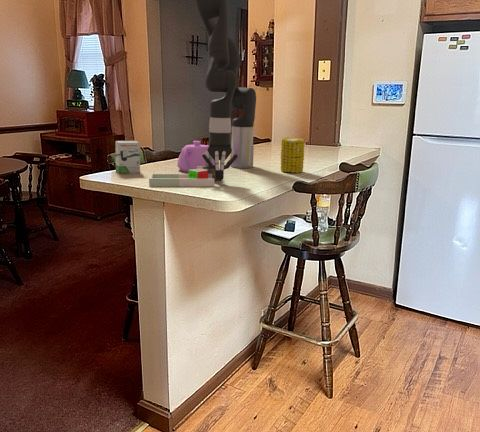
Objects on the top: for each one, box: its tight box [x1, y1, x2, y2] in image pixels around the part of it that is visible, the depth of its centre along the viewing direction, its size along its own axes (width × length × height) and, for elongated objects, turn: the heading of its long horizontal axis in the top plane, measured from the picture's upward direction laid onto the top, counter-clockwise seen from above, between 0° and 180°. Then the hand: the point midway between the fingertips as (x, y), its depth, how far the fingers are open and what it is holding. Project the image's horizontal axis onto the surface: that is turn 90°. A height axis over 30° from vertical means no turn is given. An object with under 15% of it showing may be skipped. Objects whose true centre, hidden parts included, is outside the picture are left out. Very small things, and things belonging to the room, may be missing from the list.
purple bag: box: [177, 140, 215, 173], centre depth 191 cm, size 22×16×12 cm
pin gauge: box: [205, 151, 212, 169], centre depth 174 cm, size 2×2×10 cm
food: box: [280, 136, 305, 174], centre depth 194 cm, size 15×12×10 cm
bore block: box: [197, 166, 220, 182], centre depth 175 cm, size 8×8×4 cm
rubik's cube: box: [187, 169, 208, 178], centre depth 165 cm, size 5×5×5 cm
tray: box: [148, 173, 180, 187], centre depth 164 cm, size 10×10×2 cm
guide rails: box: [177, 173, 215, 187], centre depth 166 cm, size 12×10×2 cm
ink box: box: [115, 140, 141, 174], centre depth 183 cm, size 9×5×12 cm, turn 118°
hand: (219, 180), depth 167 cm, fingers closed
